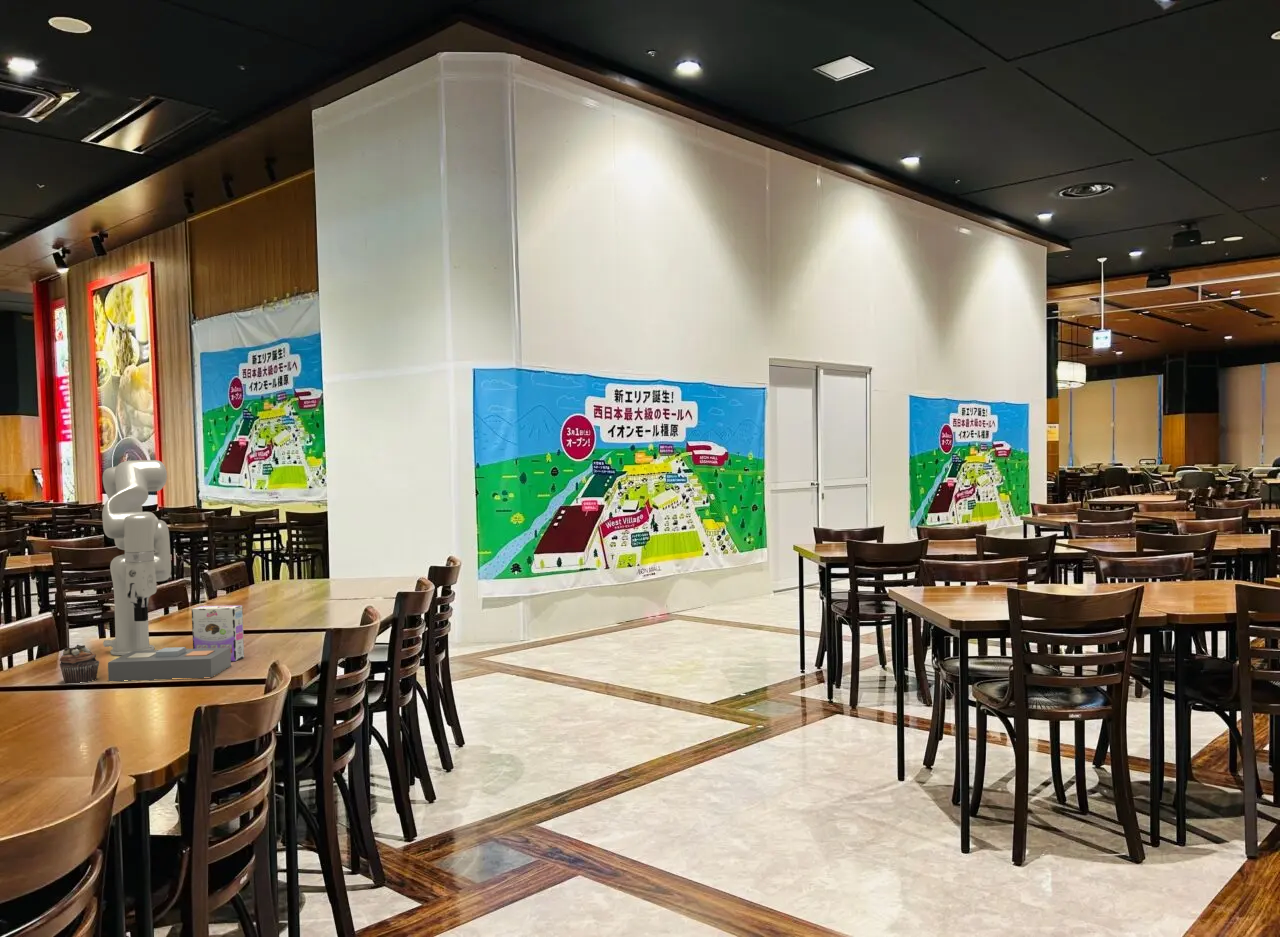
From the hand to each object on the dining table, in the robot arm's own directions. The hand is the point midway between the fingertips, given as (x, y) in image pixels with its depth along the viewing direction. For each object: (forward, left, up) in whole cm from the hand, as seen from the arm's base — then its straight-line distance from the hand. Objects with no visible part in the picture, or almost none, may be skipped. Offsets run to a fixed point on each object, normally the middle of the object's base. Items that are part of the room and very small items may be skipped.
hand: (141, 620), depth 281 cm
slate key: (+8, -1, -12) cm, 15 cm away
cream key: (0, -1, -13) cm, 13 cm away
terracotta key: (+16, -1, -13) cm, 21 cm away
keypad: (+8, -1, -16) cm, 18 cm away
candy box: (+15, +17, -16) cm, 28 cm away
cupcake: (-15, -6, -16) cm, 22 cm away
